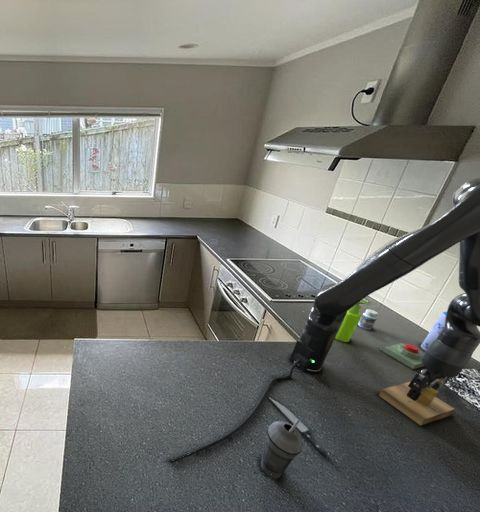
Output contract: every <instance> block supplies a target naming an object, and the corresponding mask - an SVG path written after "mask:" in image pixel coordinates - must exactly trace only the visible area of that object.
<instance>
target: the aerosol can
mask: <svg viewBox="0 0 480 512" xmlns="http://www.w3.org/2000/svg"><path fill="white" fill-rule="evenodd" d="M446 314H447V311H443V312H442V313H440V315H439V316H438V318H437V319H436V321H435V323H434V325H433V326H432V327H431V329H430V331H429V333H428V334H427V335H426V337H425V339H424V340H423V342H422V343H421V344H420V348H421V349H422V350H424V351H425V352H427V350H428V348H429V347H430V345H431V344H432V342H433V341H434V340H435V339H436V338H437V337H438V335H439V334H440V332H441V331H442V329H443V328H444V326H445V319H446Z"/></svg>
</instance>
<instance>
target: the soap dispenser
mask: <svg viewBox="0 0 480 512" xmlns="http://www.w3.org/2000/svg"><path fill="white" fill-rule="evenodd" d="M361 303H362V304H364V305H365V306H371V305H372V304H371V303H370V302H368V301H367V300H365V299H362V300H361V301H360V302H358V303H357V304H356V305H354V306H353V307H352V308H351V309H349V310H348V311H347V313H346V315H345V318H344V320H343V322H342V324H341V327H340V329H339V331H338V333H337V335H336V337H335V339H336V340H337V341H339V342H343V343H348V342H350V340H351V339H352V336H353V334H354V332H355V331H356V328H357V326H358V323H359V321H360V319H361V317H362V314H361V312H360V310H361V309H362V307H361V305H360V304H361Z"/></svg>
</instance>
